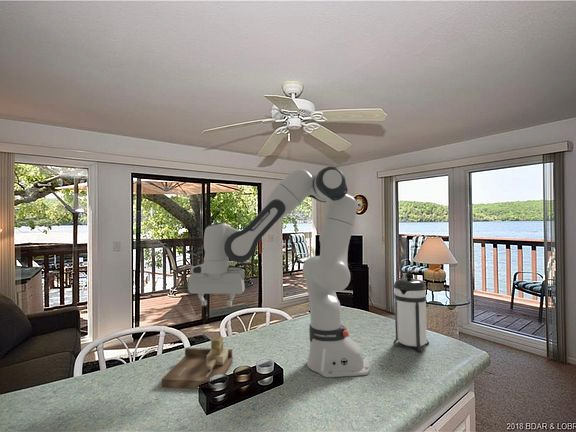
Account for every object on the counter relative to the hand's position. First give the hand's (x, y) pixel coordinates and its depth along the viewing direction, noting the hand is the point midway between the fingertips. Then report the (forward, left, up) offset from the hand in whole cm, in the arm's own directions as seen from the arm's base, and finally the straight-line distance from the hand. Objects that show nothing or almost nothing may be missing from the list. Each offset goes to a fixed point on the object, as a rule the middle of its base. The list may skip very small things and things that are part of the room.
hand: (216, 305), depth 108 cm
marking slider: (0, +3, -20) cm, 20 cm away
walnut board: (+5, +4, -23) cm, 23 cm away
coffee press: (-75, -27, -23) cm, 83 cm away
